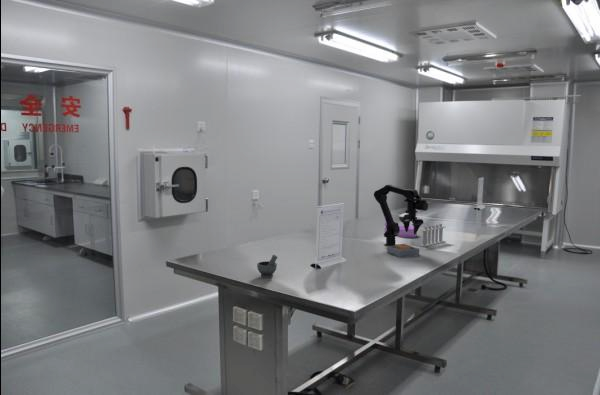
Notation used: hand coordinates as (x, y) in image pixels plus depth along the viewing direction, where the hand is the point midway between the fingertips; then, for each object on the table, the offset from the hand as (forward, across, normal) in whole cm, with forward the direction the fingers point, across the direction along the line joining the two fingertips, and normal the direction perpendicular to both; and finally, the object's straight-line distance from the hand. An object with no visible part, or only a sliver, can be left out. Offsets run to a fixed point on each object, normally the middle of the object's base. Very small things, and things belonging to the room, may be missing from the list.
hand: (410, 232), depth 300 cm
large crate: (+11, +9, -12) cm, 18 cm away
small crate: (+10, +9, -12) cm, 18 cm away
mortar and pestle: (+11, +30, -106) cm, 111 cm away
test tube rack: (+11, -10, +25) cm, 29 cm away
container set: (+12, -46, +23) cm, 52 cm away
